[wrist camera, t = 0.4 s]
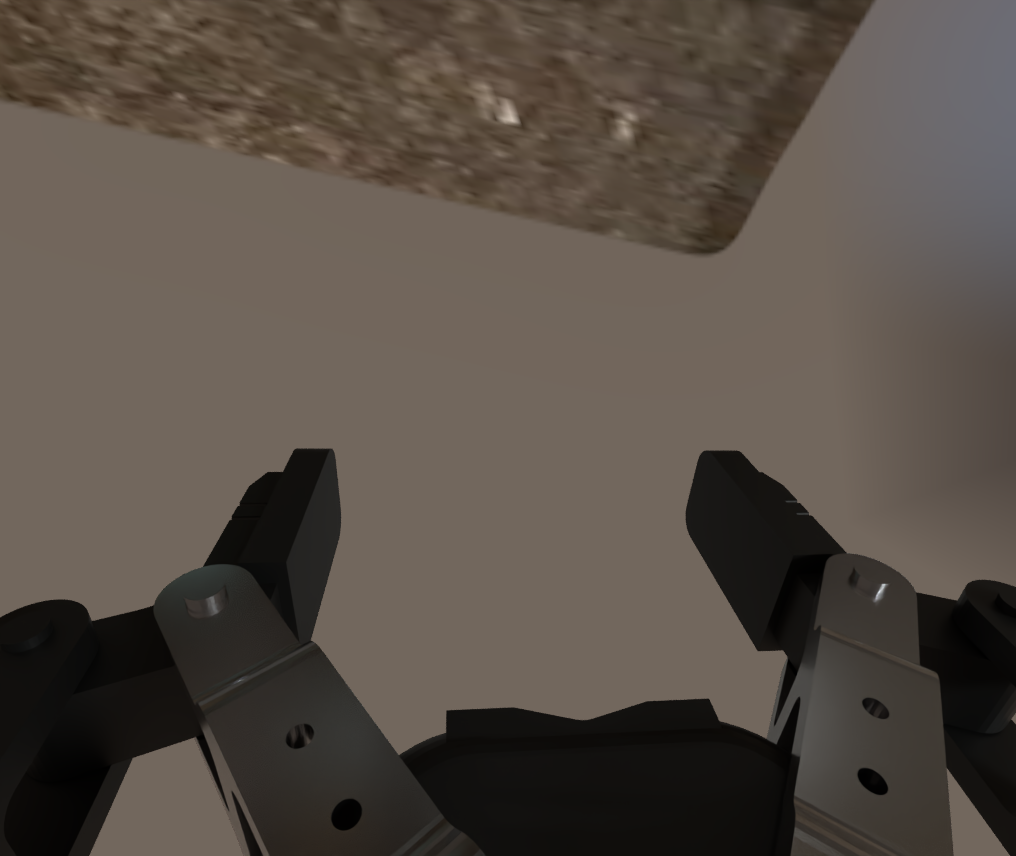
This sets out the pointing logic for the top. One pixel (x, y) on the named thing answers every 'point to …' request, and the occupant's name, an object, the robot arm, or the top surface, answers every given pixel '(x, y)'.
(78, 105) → the top surface
